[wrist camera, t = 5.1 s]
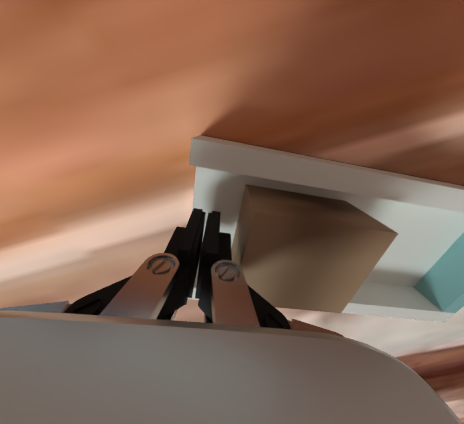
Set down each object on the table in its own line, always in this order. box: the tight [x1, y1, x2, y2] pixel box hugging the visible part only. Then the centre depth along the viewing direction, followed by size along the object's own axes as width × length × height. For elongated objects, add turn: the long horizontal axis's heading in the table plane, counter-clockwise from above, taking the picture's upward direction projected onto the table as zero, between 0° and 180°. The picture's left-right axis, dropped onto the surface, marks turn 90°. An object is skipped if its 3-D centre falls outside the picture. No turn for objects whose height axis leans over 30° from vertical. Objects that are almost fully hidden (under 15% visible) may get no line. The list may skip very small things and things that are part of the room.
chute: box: [188, 135, 464, 322], centre depth 12 cm, size 22×11×3 cm, turn 80°
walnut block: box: [231, 184, 398, 313], centre depth 11 cm, size 7×6×4 cm
